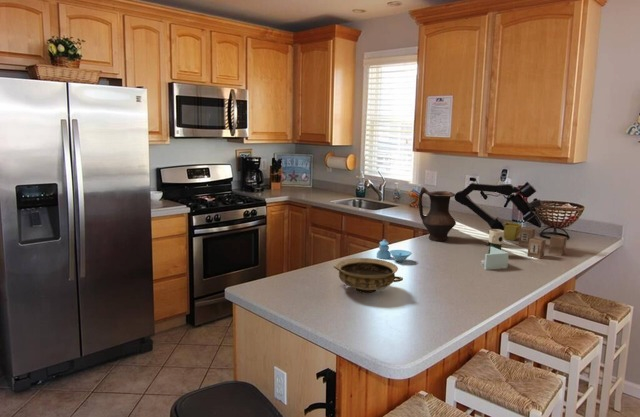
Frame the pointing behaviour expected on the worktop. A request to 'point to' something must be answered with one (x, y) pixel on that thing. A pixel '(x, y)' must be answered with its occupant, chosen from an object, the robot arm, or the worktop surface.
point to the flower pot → (511, 231)
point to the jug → (437, 214)
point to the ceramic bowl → (367, 274)
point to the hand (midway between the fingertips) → (540, 226)
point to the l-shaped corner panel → (495, 259)
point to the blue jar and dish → (391, 252)
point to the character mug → (496, 238)
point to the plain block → (557, 245)
